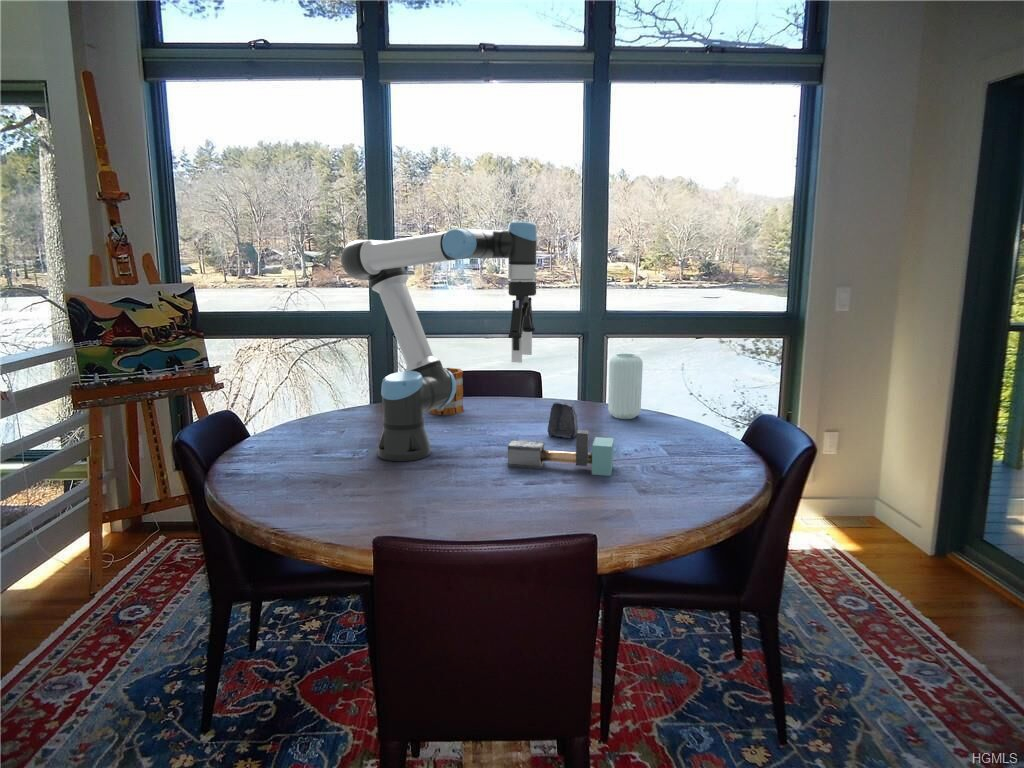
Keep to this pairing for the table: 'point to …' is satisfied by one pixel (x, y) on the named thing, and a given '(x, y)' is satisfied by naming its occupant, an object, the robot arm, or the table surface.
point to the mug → (457, 402)
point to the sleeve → (525, 454)
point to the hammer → (578, 457)
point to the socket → (602, 456)
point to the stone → (563, 420)
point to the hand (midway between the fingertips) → (522, 358)
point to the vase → (625, 386)
